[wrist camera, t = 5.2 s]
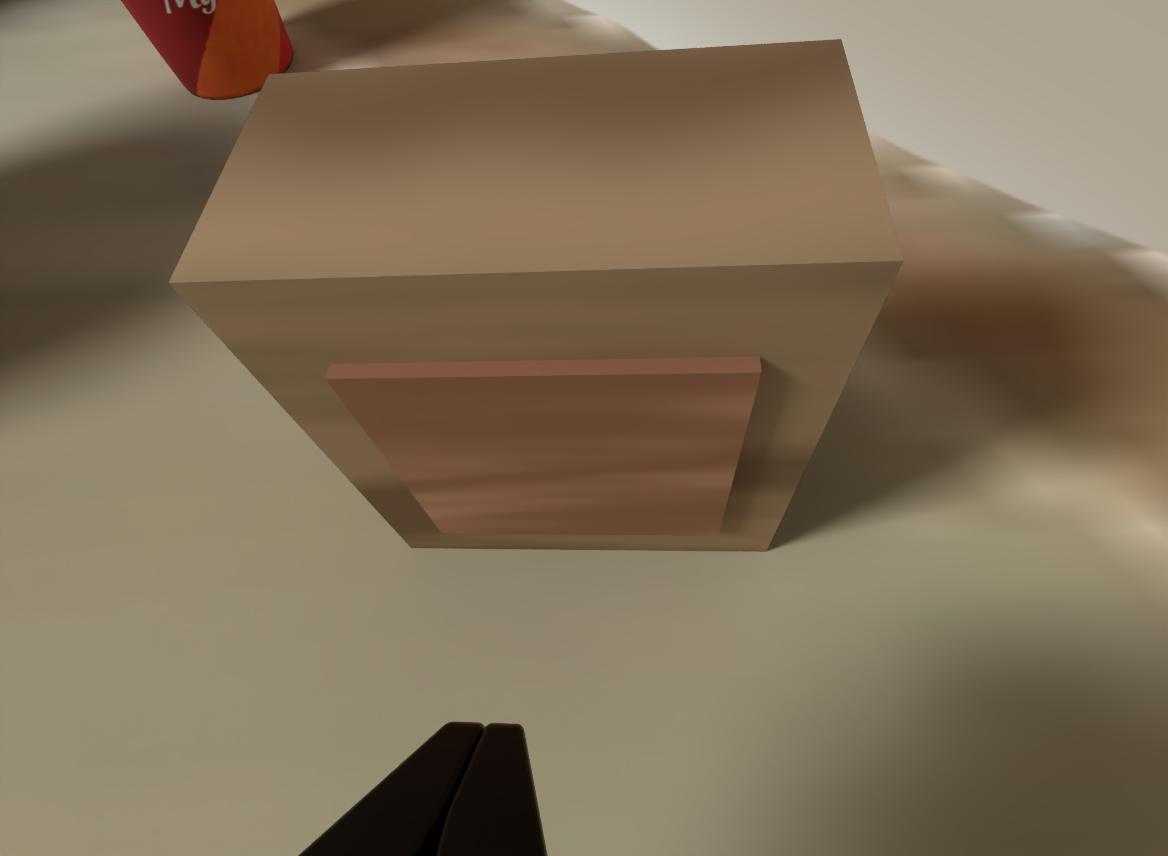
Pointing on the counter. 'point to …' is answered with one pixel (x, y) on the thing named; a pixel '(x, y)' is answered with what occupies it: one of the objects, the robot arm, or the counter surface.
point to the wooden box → (556, 286)
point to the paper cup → (216, 42)
